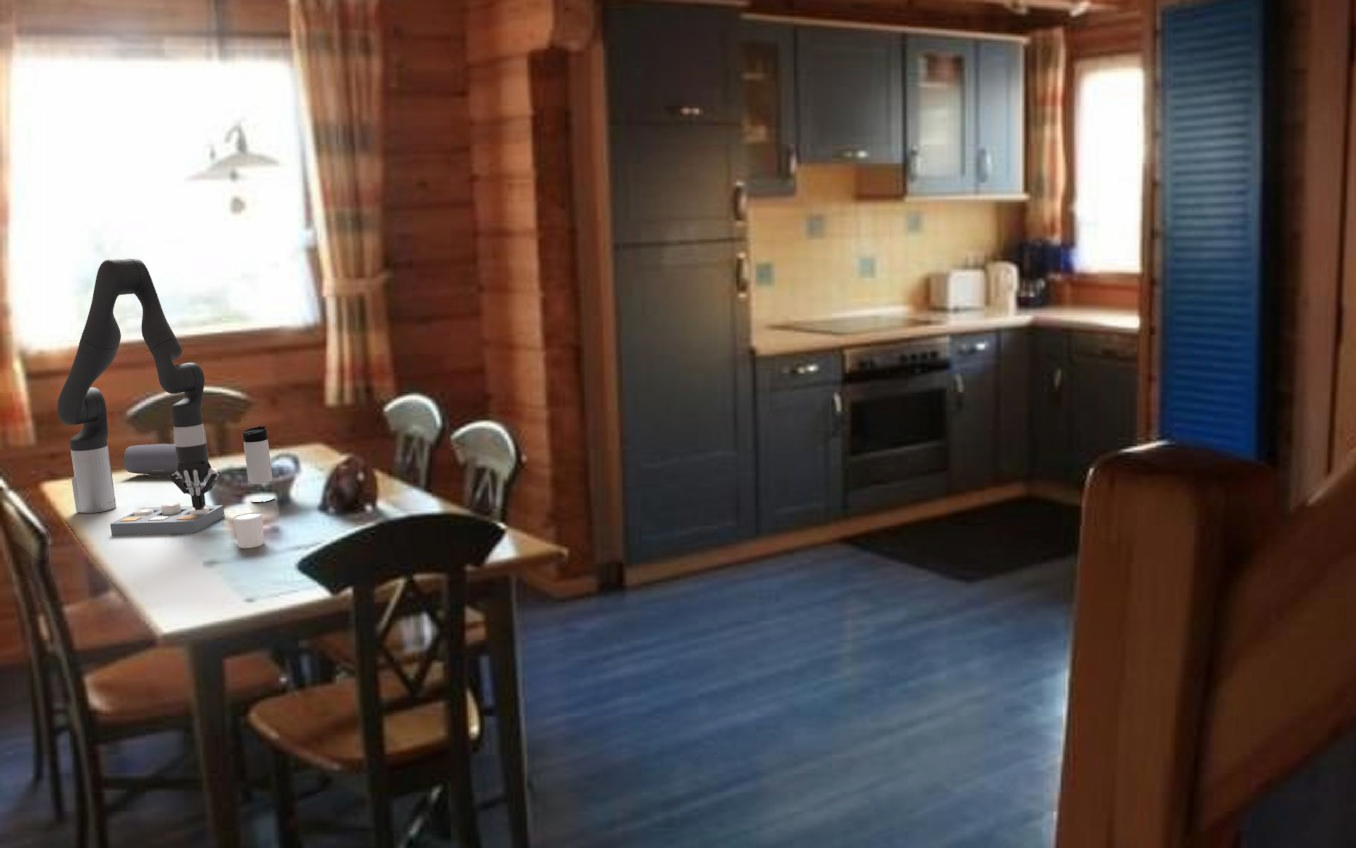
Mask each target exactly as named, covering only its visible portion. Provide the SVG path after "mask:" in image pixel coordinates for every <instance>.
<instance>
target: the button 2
mask: <svg viewBox="0 0 1356 848" xmlns="http://www.w3.org/2000/svg"><path fill="white" fill-rule="evenodd" d="M207 512H209V508H208V507H204V508H203V509H201V510H195V508H193V509H190V514H206V513H207Z"/></svg>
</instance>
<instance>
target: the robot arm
mask: <svg viewBox="0 0 1356 848" xmlns="http://www.w3.org/2000/svg"><path fill="white" fill-rule="evenodd" d="M92 293H93V294H92V299H91V304H90V308H89V311H88V315H87V319H86V322H85V325H84V328H83V331H82V332H81V333H82V334H81V336H80V338H79V339H80V340H79V343H78V346H77V347H78V348H77V351H76V354H75V357H74V360H73V363H72V366H71V369H70V370H69V371H70V372H69V374H68V375H67V377H66V380H65V383H64V385H63V387H62V388H61V391H60V394H59V396H58V399H57V406H56V411H57V416H58V418H59V420H60V422H62V423H63V424H64V425H67V426H77V425H82V427H81V430H80V431H79V432H78V433H76V435H74V436H73V437H71V439H70V440H69V449H70V455H71V460H72V461H71V463H72V468H73V475H74V476H73V477H71V485H72V491H73V492H72V493H73V500H74V505H75V506H74V507H75V512H76V513H82V514H93V513H101V512H106V511H110V510H113V509H115V508H116V507H117V502H116V495H115V494H116V493H115V487H114V481H113V474H112V467H111V458H110V453H109V446H108V437H109V426H108V425H109V424H108V415H107V414H108V413H107V411H108V410H107V405H106V400H105V396H104V395H103V392H102V391H101V390H100V389H99V388H97V387H93V386H92V385H93V384H94V382H95V381H96V380H97V379H98V378H99V377H100V376H101V375H102V374H103V373H104V372H105V371H106V370H107V369H108V368H109V367H110V365H111V364H112V363H113V362H114V360H115V358H116V355H117V353H118V350H119V347H120V344H121V340H122V335H121V334H122V333H121V329H120V327H119V324H118V321H117V320H116V318H115V315H114V309H115V304H116V301H117V298H118V297H119V296H124V295H135V297H136V298H137V300H138V301H139V302H140V305H141V308H142V317H141V326H140V327H141V334H142V339H143V340H144V343H145V345H146V346H147V348H148V350H149V352H150V353H151V355H152V357H153V359H154V364H155V368H156V371H157V378H158V381H159V385H160V386H161V388H162V390H163V391H165V392H166V393H168V394H170V395H175V394H181V393H184V394H183V397H182V398H181V400H179V401H178V402H175V403H174V404H172V406H171V416H172V417H171V419H172V426H173V442H174V443H173V444H175V449H176V457H177V462H178V467H177V471H176V472H175V473H174V474H173V475H171V476H170V477H169V479H170V480H171V481H172V483H174V485H176V487H177V488H178V489H179V490H180V491H181V493H183V494H184V495H189V496H190V497H191V506H193V508H195V510H201V509H203V508H204V506H206V498H205V497H206V496H205V494H207V493H208V492H211V490H212V489H213V487H214V486H215V484H216V482H217V480H218V479H219V477H220V476H221V473H220V471H215V470H214V469H213V468H212V465H211V464H210V462H209V450H208V444H207V436H206V430H205V427H204V426H205V425H204V422H203V421H204V420H203V413H202V402H203V395H204V388H205V382H206V381H205V373H204V371H203V369H202V367H201V366H200V365H199V364H197V363H196V362H186V363H180V364H175V363H174V361H176V360H178V359H179V358H180V357H181V356H182V354H183V348H182V346H181V344H180V342H179V341H178V339H177V337H176V335H175V333H174V332H173V330H172V328H171V326H170V323H168V320H167V318H166V315H165V313H164V310H163V307H162V305H161V302H160V299H159V296H158V293H157V290H156V288H155V284H154V282H153V279H152V276H151V274H150V272H149V269H148V267H147V265H146V264H145V263H144V261H142V260H141V259H139V258H138V257H137V258H136V257H122V258H121V257H120V258H108V259H106V260H104V261H102V262H101V264H100V265H99V267H98V269H97V272H96V278H95V281H94V288H93V292H92ZM91 386H92V387H91ZM207 477H208V480H207V481H206V478H207Z"/></svg>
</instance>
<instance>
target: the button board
mask: <svg viewBox="0 0 1356 848" xmlns="http://www.w3.org/2000/svg"><path fill="white" fill-rule="evenodd" d="M204 507H208V508H209V512H207V513H206V514H190V509H193V506H192V505H189V506H181V513H179V514H177V515H162V510H161V506H158V507H157V506H155V507H154V506H153V507H151V506H150V507H142V508H140V509H137V510H136V511H138V510H143V509H153V511H154V513H153V514H151V515H149V516H134V512H135V511H133V512H132V513H129V514H127V515H125V516H123V517H121V518H118V519H117V520H116V521H113V522H111V523H110V524H109V526H110V532H111V536H136V535H135V534H144V535H171V534H172V535H173V534H175V535H177V534H196V533H198V532H200V531H201V530H203V529H205V528H207V527H208V526H210V525H212V524H214V523H216V522H217V521H220V520H221V519H223V518H224V517H223V515H224V516H225V510H224V505H223V504H221V505H219V504H218V505H217V504H215V505H205V506H204Z"/></svg>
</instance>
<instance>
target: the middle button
mask: <svg viewBox="0 0 1356 848" xmlns="http://www.w3.org/2000/svg"><path fill="white" fill-rule="evenodd" d="M160 507H161V510H162V515H177V514H179V513H181V507H182V505H181V503H180V502H168V503H164V504H161V505H160Z"/></svg>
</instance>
